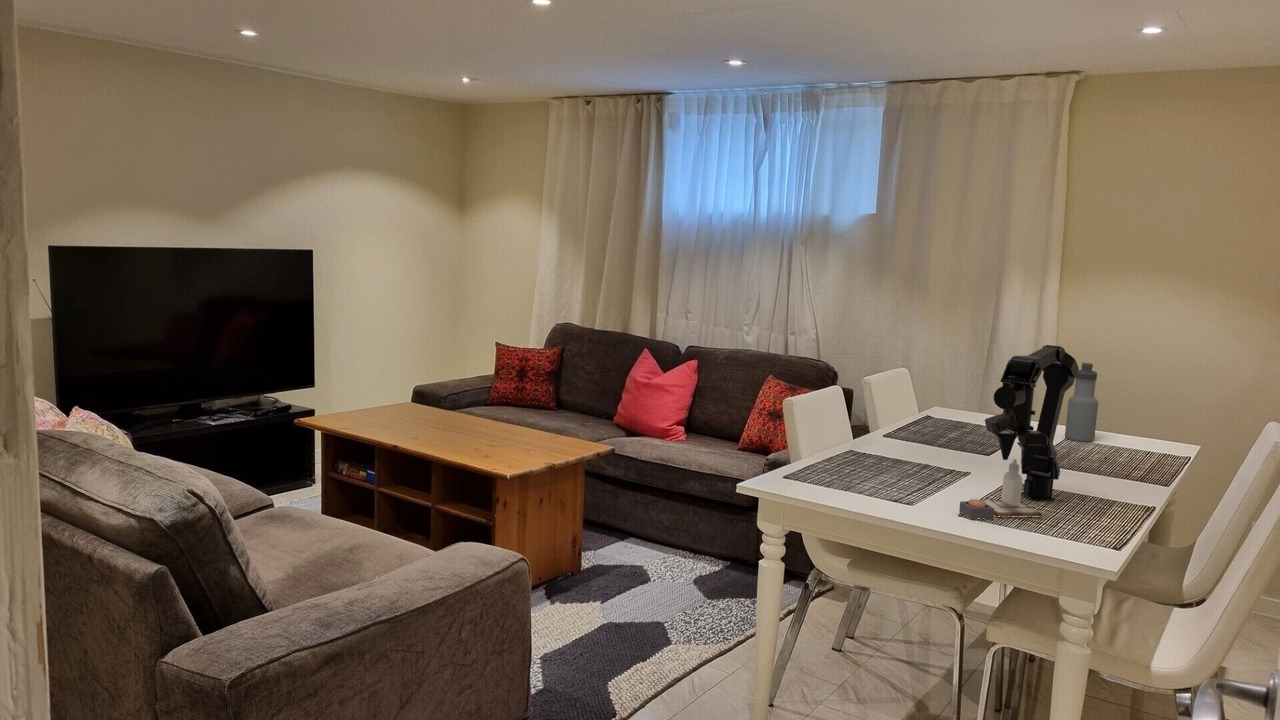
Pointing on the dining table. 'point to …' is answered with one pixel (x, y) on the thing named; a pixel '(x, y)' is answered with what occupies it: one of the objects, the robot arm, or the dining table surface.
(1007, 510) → the board
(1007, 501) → the eye dropper bottle
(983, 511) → the button housing
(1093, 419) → the water bottle
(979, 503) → the button
